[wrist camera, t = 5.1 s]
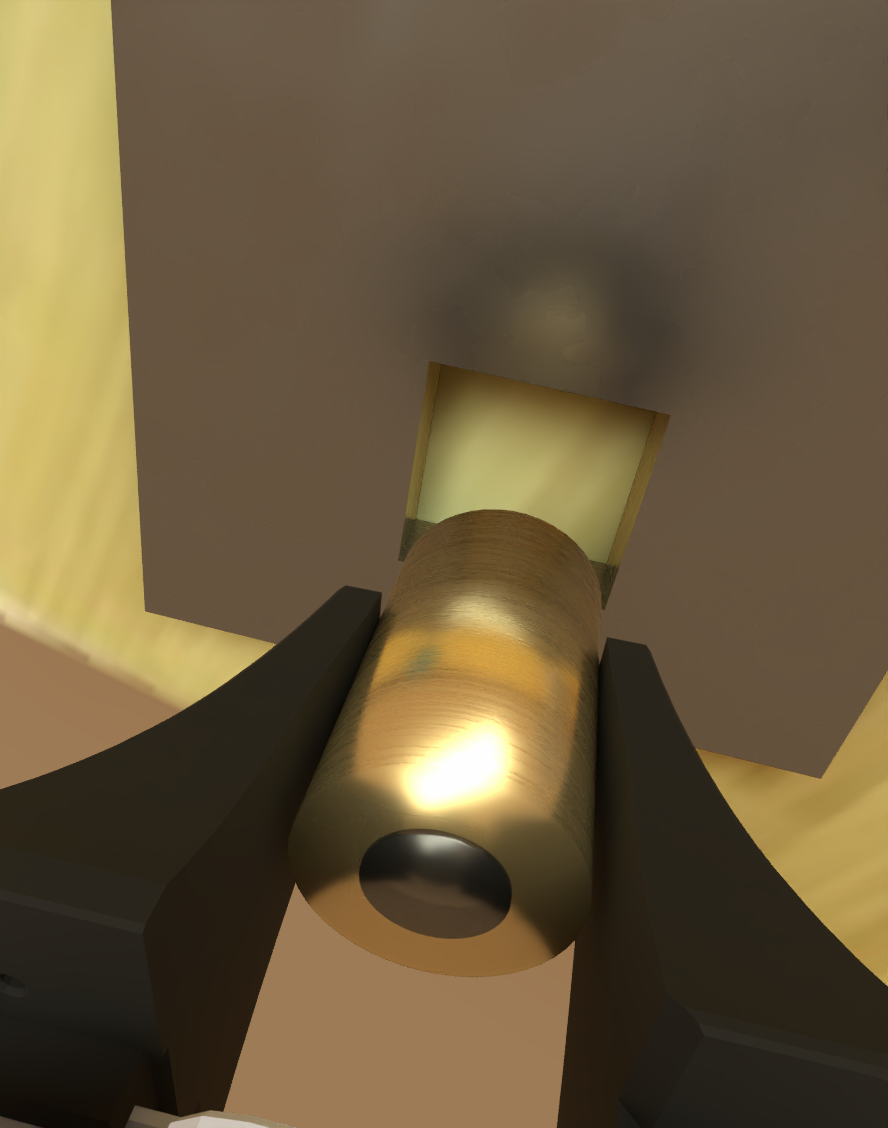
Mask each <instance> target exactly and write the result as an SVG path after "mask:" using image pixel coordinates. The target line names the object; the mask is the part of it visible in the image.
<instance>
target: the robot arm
mask: <svg viewBox="0 0 888 1128" xmlns="http://www.w3.org/2000/svg"><path fill="white" fill-rule="evenodd" d="M381 599H382V592H377V591H372V590H367V589H362V588H357V587H352V586H347V585H345V586H344V587H342V588H340V589H339V590H338V591H337V592H335V593H334V594H333V595H332V596H331V597H330V598H329V599H328V600H327V601H326V602H325V603H324V604H323V605H322V606H321V607H319V608H318V609H317V610H316V611H315V612H314V613H313V614H312V615H311V616H310V617H308V618H307V619H306V620H305V621H304V622H303V623H302V624H300V625H299V626H298V627H297V628H296V629H295V630H294V631H292V632H291V633H290V634H289V635H288V636H286V637H285V638H284V639H283V640H281V641H280V642H279V643H278V644H277V645H275V646H274V647H273V648H272V649H271V650H269V651H268V652H267V653H266V654H264V655H263V656H262V657H260V658H259V659H258V660H257V661H255V662H254V663H252V664H251V665H250V666H248V667H247V668H246V669H244V670H243V671H241V672H240V673H239V674H237V675H236V676H235V677H233V678H232V679H230V680H229V681H228V682H226V683H225V684H223V685H222V686H221V687H219V688H218V689H216V690H215V691H213V692H212V693H210V694H208V695H207V696H205V697H204V698H202V699H201V700H199V701H198V702H196V703H194V704H193V705H191V706H189V707H188V708H186V709H184V710H183V711H181V712H179V713H178V714H176V715H174V716H172V717H171V718H169V719H167V720H165V721H163V722H161V723H159V724H158V725H156V726H154V727H152V728H150V729H148V730H146V731H144V732H142V733H140V734H138V735H136V736H134V737H132V738H130V739H128V740H126V741H124V742H122V743H120V744H118V745H116V746H113V747H111V748H109V749H107V750H105V751H102V752H100V753H98V754H95V755H93V756H91V757H88V758H86V759H84V760H81V761H79V762H76V763H73V764H71V765H68V766H66V767H63V768H61V769H58V770H56V771H53V772H50V773H48V774H45V775H42V776H39V777H37V778H34V779H31V780H28V781H25V782H22V783H18V784H16V785H12V786H9V787H6V788H3V789H0V1128H297V1127H293V1126H289V1125H285V1124H281V1123H278V1122H273V1121H269V1120H266V1119H262V1118H258V1117H255V1116H249V1115H242V1114H234V1113H227V1112H223V1111H224V1107H225V1104H226V1100H227V1097H228V1094H229V1090H230V1087H231V1084H232V1080H233V1077H234V1073H235V1070H236V1066H237V1063H238V1060H239V1057H240V1054H241V1050H242V1047H243V1044H244V1041H245V1037H246V1034H247V1031H248V1027H249V1024H250V1021H251V1018H252V1014H253V1011H254V1008H255V1005H256V1002H257V998H258V995H259V992H260V989H261V986H262V983H263V979H264V977H265V973H266V970H267V967H268V964H269V961H270V958H271V955H272V952H273V949H274V946H275V942H276V939H277V936H278V933H279V930H280V927H281V924H282V921H283V918H284V915H285V912H286V909H287V906H288V903H289V900H290V897H291V894H292V891H293V888H294V885H295V880H294V878H293V875H292V872H291V868H290V864H289V857H288V842H289V835H290V832H291V829H292V826H293V823H294V821H295V818H296V816H297V814H298V811H299V809H300V806H301V804H302V802H303V799H304V797H305V795H306V792H307V790H308V788H309V785H310V783H311V780H312V778H313V776H314V773H315V771H316V769H317V766H318V764H319V762H320V759H321V757H322V754H323V752H324V750H325V747H326V745H327V743H328V740H329V738H330V736H331V733H332V731H333V728H334V726H335V724H336V721H337V719H338V717H339V714H340V712H341V710H342V707H343V705H344V702H345V700H346V698H347V695H348V693H349V691H350V688H351V686H352V684H353V681H354V679H355V676H356V674H357V672H358V669H359V667H360V665H361V662H362V660H363V658H364V655H365V653H366V650H367V648H368V646H369V643H370V641H371V639H372V636H373V634H374V631H375V629H376V627H377V624H378V622H379V620H380V611H381ZM557 1128H888V986H887V985H885V984H884V983H883V982H882V981H881V980H880V979H879V978H878V977H877V976H875V975H874V974H873V973H872V972H871V971H870V970H869V969H868V968H867V967H866V966H865V965H863V964H862V963H861V962H860V961H859V960H858V959H857V958H856V957H855V956H854V955H853V954H852V953H851V952H850V951H849V950H848V949H847V948H846V947H845V946H844V944H843V943H842V942H841V941H840V940H839V939H838V938H837V937H836V936H835V935H834V934H833V933H832V932H831V931H830V930H829V929H828V928H827V927H826V926H825V925H824V924H823V923H822V922H821V921H820V920H819V919H818V918H817V916H816V915H815V914H814V913H813V912H812V911H811V910H810V909H809V908H808V907H807V906H806V904H805V903H804V902H803V901H802V900H801V899H800V897H799V896H798V895H797V894H796V893H795V892H794V890H793V889H792V888H791V887H790V886H789V885H788V883H787V882H786V881H785V880H784V879H783V878H782V876H781V875H780V874H779V873H778V872H777V871H776V869H775V868H774V867H773V866H772V865H771V863H770V862H769V861H768V859H767V858H766V857H765V856H764V854H763V853H762V852H761V850H760V849H759V848H758V847H757V845H756V844H755V842H754V841H753V840H752V838H751V837H750V835H749V834H748V833H747V831H746V830H745V828H744V827H743V826H742V824H741V823H740V821H739V820H738V819H737V817H736V816H735V814H734V813H733V811H732V810H731V808H730V807H729V805H728V803H727V802H726V800H725V799H724V797H723V796H722V794H721V792H720V791H719V789H718V787H717V786H716V784H715V782H714V781H713V779H712V777H711V776H710V774H709V772H708V771H707V769H706V767H705V766H704V764H703V762H702V760H701V758H700V757H699V755H698V753H697V751H696V749H695V747H694V746H693V744H692V742H691V740H690V738H689V736H688V734H687V732H686V730H685V728H684V726H683V724H682V722H681V720H680V718H679V716H678V714H677V712H676V710H675V708H674V706H673V704H672V701H671V699H670V697H669V695H668V693H667V690H666V688H665V686H664V683H663V681H662V679H661V676H660V674H659V672H658V669H657V666H656V664H655V661H654V659H653V656H652V653H651V651H650V650H649V648H648V647H647V645H644V644H639V643H634V642H629V641H624V640H619V639H614V638H609V637H607V639H606V643H605V647H604V650H603V654H602V657H601V661H600V664H599V688H598V720H597V750H596V779H595V809H594V839H593V868H592V898H591V907H590V912H589V917H588V919H587V921H586V923H585V926H584V928H583V930H582V931H581V932H580V934H579V935H578V937H577V938H576V940H575V949H574V960H573V972H572V982H571V993H570V1005H569V1016H568V1025H567V1035H566V1046H565V1056H564V1066H563V1075H562V1085H561V1094H560V1104H559V1114H558V1122H557Z"/></svg>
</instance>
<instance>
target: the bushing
mask: <svg viewBox="0 0 888 1128" xmlns="http://www.w3.org/2000/svg"><path fill="white" fill-rule="evenodd" d="M600 631H601V591H600V584H599V581H598V578H597V575H596V572H595V570H594V568H593V566H592V564H591V562H590V561H589V559H588V558H587V556H586V555H585V553H584V552H583V551H582V550H581V549H580V547H579V546H578V545H577V544H576V543H575V542H574V541H573V540H572V539H571V538H569V537H568V536H567V535H566V534H565V533H563V532H562V531H560V530H559V529H557V528H556V527H554V526H553V525H551V524H549V523H547V522H545V521H543V520H541V519H538V518H535V517H533V516H530V515H527V514H523V513H519V512H515V511H507V510H477V511H470V512H466V513H462V514H458V515H455V516H453V517H450V518H447V519H445V520H443V521H442V522H440V523H438V524H436V525H434V526H433V527H432V528H430V529H429V530H428V531H426V532H425V533H424V534H423V535H422V536H421V537H420V538H419V539H418V540H417V541H416V542H415V544H414V545H413V547H412V548H411V549H410V551H409V553H408V555H407V557H406V559H405V561H404V563H403V565H402V568H401V570H400V572H399V575H398V577H397V579H396V582H395V584H394V587H393V589H392V591H391V594H390V596H389V598H388V601H387V603H386V605H385V608H384V610H383V613H382V615H381V617H380V620H379V622H378V624H377V627H376V629H375V631H374V634H373V636H372V639H371V641H370V643H369V646H368V648H367V650H366V653H365V655H364V658H363V660H362V662H361V665H360V667H359V669H358V672H357V674H356V676H355V679H354V681H353V684H352V686H351V688H350V691H349V693H348V695H347V698H346V700H345V702H344V705H343V707H342V710H341V712H340V714H339V717H338V719H337V721H336V724H335V726H334V728H333V731H332V733H331V736H330V738H329V740H328V743H327V745H326V747H325V750H324V752H323V754H322V757H321V759H320V762H319V764H318V766H317V769H316V771H315V773H314V776H313V778H312V780H311V783H310V785H309V788H308V790H307V792H306V795H305V797H304V799H303V802H302V804H301V806H300V809H299V811H298V814H297V816H296V818H295V821H294V823H293V826H292V829H291V832H290V835H289V842H288V857H289V864H290V868H291V872H292V875H293V878H294V880H295V882H296V884H297V886H298V889H299V890H300V892H301V893H302V895H303V897H304V898H305V900H306V901H307V902H308V904H309V905H310V906H311V907H312V908H313V910H314V911H315V912H316V913H317V914H318V915H319V916H320V917H321V918H322V919H323V920H324V921H325V922H326V923H327V924H328V925H329V926H331V927H332V928H333V929H334V930H336V931H337V932H338V933H339V934H341V935H342V936H344V937H345V938H347V939H348V940H350V941H351V942H353V943H354V944H356V945H358V946H360V947H361V948H363V949H365V950H367V951H369V952H371V953H373V954H375V955H378V956H379V957H382V958H384V959H386V960H389V961H392V962H395V963H397V964H400V965H403V966H406V967H410V968H413V969H417V970H421V971H426V972H431V973H436V974H441V975H450V976H463V977H485V976H497V975H504V974H511V973H515V972H519V971H523V970H527V969H529V968H532V967H534V966H538V965H540V964H542V963H544V962H546V961H548V960H550V959H552V958H554V957H555V956H557V955H558V954H560V953H561V952H562V951H564V950H565V949H566V948H567V947H568V946H569V945H570V944H571V943H572V942H573V941H575V940H576V938H577V937H578V935H579V934H580V932H581V931H582V930H583V928H584V926H585V923H586V921H587V919H588V917H589V912H590V907H591V898H592V868H593V839H594V809H595V779H596V750H597V720H598V688H599V661H600Z"/></svg>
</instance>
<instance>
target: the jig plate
mask: <svg viewBox="0 0 888 1128" xmlns="http://www.w3.org/2000/svg"><path fill="white" fill-rule="evenodd" d="M111 11H112V29H113V46H114V64H115V82H116V100H117V118H118V136H119V154H120V171H121V189H122V207H123V225H124V243H125V261H126V278H127V296H128V314H129V332H130V350H131V368H132V386H133V403H134V421H135V439H136V457H137V475H138V493H139V511H140V528H141V546H142V564H143V582H144V600H145V611H146V612H150V613H154V614H158V615H162V616H166V617H170V618H174V619H178V620H183V621H187V622H191V623H195V624H199V625H203V626H207V627H211V628H215V629H219V630H223V631H227V632H231V633H235V634H239V635H243V636H247V637H251V638H255V639H259V640H263V641H267V642H271V643H275V644H278V643H279V642H280V641H281V640H283V639H284V638H285V637H286V636H288V635H289V634H290V633H291V632H292V631H294V630H295V629H296V628H297V627H298V626H299V625H300V624H302V623H303V622H304V621H305V620H306V619H307V618H308V617H310V616H311V615H312V614H313V613H314V612H315V611H316V610H317V609H318V608H319V607H321V606H322V605H323V604H324V603H325V602H326V601H327V600H328V599H329V598H330V597H331V596H332V595H333V594H334V593H335V592H337V591H338V590H339V589H340V588H342V587H344V586H345V585H347V586H352V587H357V588H362V589H367V590H372V591H377V592H382V599H381V611H380V617H381V615H382V613H383V610H384V608H385V605H386V603H387V601H388V598H389V596H390V594H391V591H392V589H393V587H394V584H395V582H396V579H397V577H398V575H399V572H400V570H401V568H402V565H403V563H404V561H405V559H406V557H407V555H408V553H409V551H410V549H411V548H412V547H413V545H414V544H415V542H416V541H417V540H418V539H419V538H420V537H421V536H422V535H423V534H424V533H425V532H426V531H428V530H429V529H430V528H432V527H433V526H434V525H436V524H434V523H429V522H425V521H421V520H417V519H416V514H417V508H418V502H419V496H420V490H421V484H422V478H423V471H424V465H425V459H426V453H427V447H428V441H429V435H430V429H431V423H432V417H433V411H434V405H435V399H436V392H437V386H438V380H439V374H440V368H441V364H444V365H449V366H453V367H458V368H462V369H467V370H471V371H476V372H480V373H485V374H489V375H494V376H498V377H503V378H507V379H512V380H516V381H521V382H525V383H530V384H534V385H539V386H543V387H547V388H552V389H556V390H561V391H565V392H570V393H574V394H579V395H583V396H588V397H592V398H597V399H601V400H606V401H610V402H615V403H619V404H624V405H628V406H633V407H637V408H642V409H646V410H651V411H655V412H656V415H655V418H654V421H653V424H652V428H651V431H650V434H649V437H648V440H647V443H646V446H645V449H644V452H643V455H642V458H641V461H640V464H639V467H638V470H637V473H636V476H635V479H634V482H633V485H632V488H631V491H630V494H629V497H628V500H627V504H626V507H625V510H624V513H623V516H622V519H621V522H620V525H619V528H618V531H617V534H616V537H615V540H614V543H613V546H612V549H611V552H610V555H609V558H608V561H607V564H603V563H599V562H595V561H591V560H589V561H590V562H591V564H592V566H593V568H594V570H595V572H596V575H597V578H598V581H599V584H600V591H601V631H600V661H601V657H602V654H603V650H604V647H605V643H606V639H607V637H609V638H614V639H619V640H624V641H629V642H634V643H639V644H644V645H647V647H648V648H649V650H650V651H651V653H652V656H653V659H654V661H655V664H656V666H657V669H658V672H659V674H660V676H661V679H662V681H663V683H664V686H665V688H666V690H667V693H668V695H669V697H670V699H671V701H672V704H673V706H674V708H675V710H676V712H677V714H678V716H679V718H680V720H681V722H682V724H683V726H684V728H685V730H686V732H687V734H688V736H689V738H690V740H691V742H692V744H693V746H694V747H695V748H699V749H703V750H707V751H711V752H715V753H719V754H723V755H727V756H731V757H735V758H739V759H743V760H747V761H751V762H755V763H760V764H764V765H768V766H772V767H776V768H780V769H784V770H788V771H792V772H796V773H800V774H804V775H808V776H812V777H816V778H820V779H821V778H822V776H823V774H824V773H825V771H826V769H827V768H828V766H829V765H830V763H831V761H832V760H833V758H834V756H835V755H836V753H837V752H838V750H839V748H840V747H841V745H842V743H843V742H844V740H845V739H846V737H847V735H848V734H849V732H850V730H851V729H852V727H853V726H854V724H855V722H856V721H857V719H858V717H859V716H860V714H861V713H862V711H863V709H864V708H865V706H866V705H867V703H868V701H869V700H870V698H871V696H872V695H873V693H874V692H875V690H876V688H877V687H878V685H879V683H880V682H881V680H882V679H883V677H884V675H885V674H886V672H887V670H888V0H111ZM600 661H599V664H600Z"/></svg>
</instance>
